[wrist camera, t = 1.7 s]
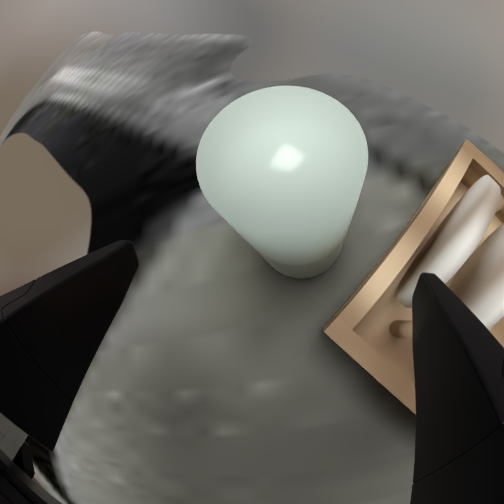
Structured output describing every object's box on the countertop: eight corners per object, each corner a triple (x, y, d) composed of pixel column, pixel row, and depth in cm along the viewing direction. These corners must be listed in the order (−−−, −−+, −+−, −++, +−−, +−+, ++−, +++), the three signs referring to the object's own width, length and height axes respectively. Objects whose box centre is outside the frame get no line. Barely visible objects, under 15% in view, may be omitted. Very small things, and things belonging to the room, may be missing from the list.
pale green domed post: (304, 296, 19) (287, 273, 8) (243, 240, 20) (165, 166, 10) (360, 231, 19) (400, 141, 8) (297, 181, 20) (272, 67, 10)
